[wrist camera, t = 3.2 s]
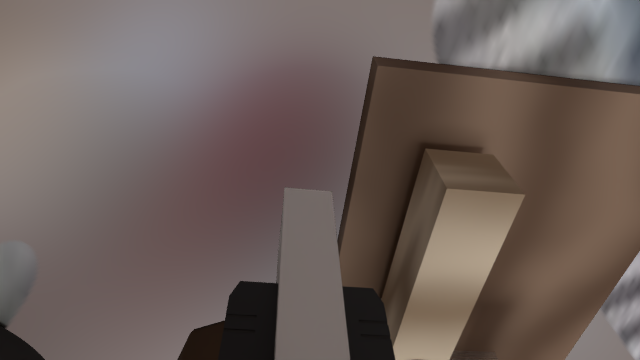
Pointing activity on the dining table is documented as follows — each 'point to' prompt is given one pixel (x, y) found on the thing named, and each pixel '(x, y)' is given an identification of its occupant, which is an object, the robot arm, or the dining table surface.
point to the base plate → (529, 174)
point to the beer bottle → (203, 343)
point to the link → (446, 250)
